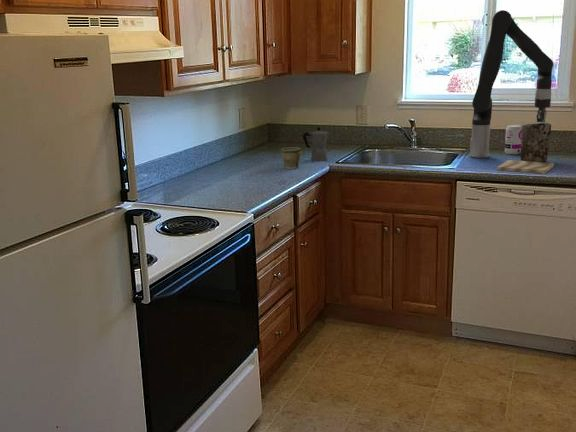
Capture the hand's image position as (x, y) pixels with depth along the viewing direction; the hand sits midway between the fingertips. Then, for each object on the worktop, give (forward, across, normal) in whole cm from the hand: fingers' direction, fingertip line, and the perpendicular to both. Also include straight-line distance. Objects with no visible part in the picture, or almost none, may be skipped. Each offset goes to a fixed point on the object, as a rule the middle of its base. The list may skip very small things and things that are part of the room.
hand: (540, 131), depth 324 cm
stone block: (+14, +11, 0) cm, 18 cm away
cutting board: (+14, +28, 0) cm, 31 cm away
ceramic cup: (+14, +74, -104) cm, 129 cm away
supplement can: (+14, -10, -16) cm, 23 cm away
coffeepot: (+14, +50, -104) cm, 117 cm away
